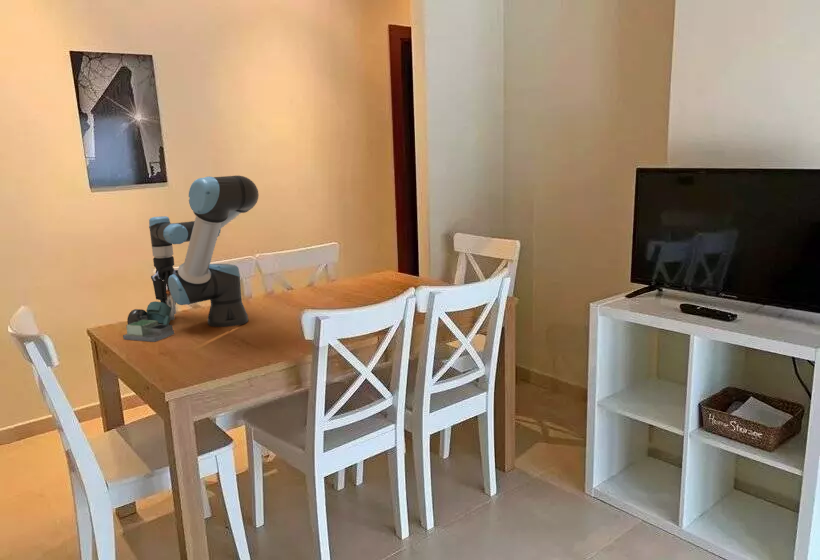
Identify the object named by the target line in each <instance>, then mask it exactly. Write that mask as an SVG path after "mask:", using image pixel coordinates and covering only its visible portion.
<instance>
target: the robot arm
mask: <svg viewBox="0 0 820 560" xmlns="http://www.w3.org/2000/svg"><path fill="white" fill-rule="evenodd" d="M188 198H189V199H188V204H189V207H190V209H191V210H192V212H193V215H194V216H195V219H194V220H192V221H184V222H183V221H182V222H173V223H172V222H171V220H170V218H169V216H153V217H150V218H149V219H148V223H149V225H148V229H149V234H150V243H151V249H152V250H151V251H152V257H153V259H152V261H153V262H152V263H153V266H154V268H155V274H153V275H150V279H151V281H152V284H153V291H154V296H155V299H156V301H159V302H162V303H165V304H167V305H169V304H168V300H166V290H167V289H168V290H170V293H171V296H172V298H173V307H174V315H176V314H177V308H176V305H179V306H186V305H191V304H196V303H201V302H206V301H210V308H209V312H208V316H207V324H208V326H210V327H214V328H216V327H217V328H228V327H234V326H242V325H244V324H247V323H248V322H249V316H248V313H247V311H246V310H247V309H246V308H245V306H244V303H243V300H242V299H243V298H242V287H241V275H240V270H239V269H240V268H239V267H238V266H237V265H236V264H230V263H211V261H212V258H213V254H214V251H215V247H216V243H217V240H218V237H220V234H221V229H223V228H224V227H226V225H228V224H229V223H230V222H232V221H233V220H234V219H235V218H236V217H237V216H239V215H241V214H245V213H248V212H249V211H250V210H252V209H253V208H254V207H255V206H256V205H257V204H258V200H259V190H258V187H257V185H256V183H254V181H253V180H251V179H250V178H249V177H246V176H243V175H239V174H238V175H226V176H205V177H199V178H196V179H195V180H194V181H192V183H191V184H190V186H189V190H188ZM186 242H188V243H189V244H188V245H187V250H186V254H185V258H184V259H185V260H184V262H183V263H181V264H180V265H179V267H178V268H177V269H175V268H174V266H175V259H174V258H175V257H174V256H173V255H174V247H173V245H181V244H183V243H186ZM169 316H170V315H169Z"/></svg>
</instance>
